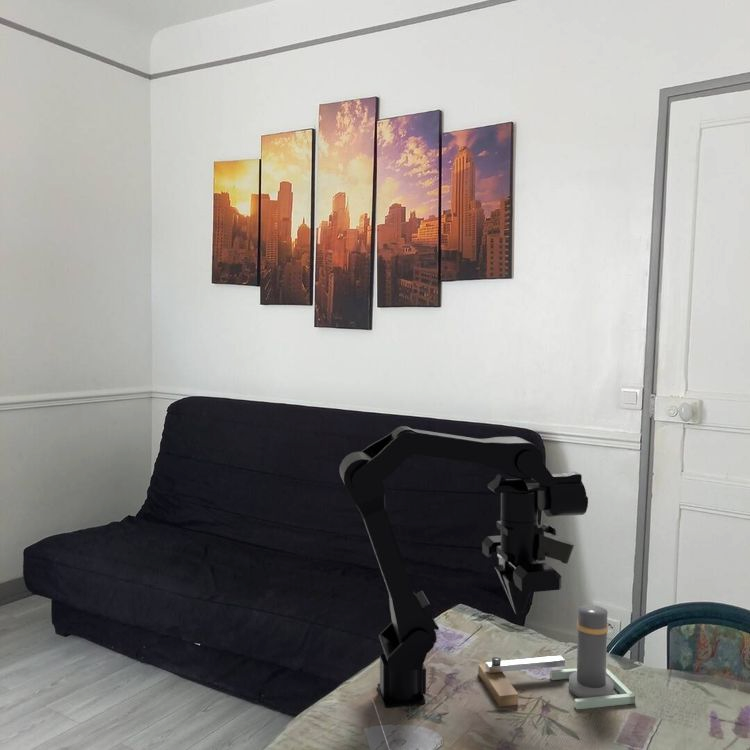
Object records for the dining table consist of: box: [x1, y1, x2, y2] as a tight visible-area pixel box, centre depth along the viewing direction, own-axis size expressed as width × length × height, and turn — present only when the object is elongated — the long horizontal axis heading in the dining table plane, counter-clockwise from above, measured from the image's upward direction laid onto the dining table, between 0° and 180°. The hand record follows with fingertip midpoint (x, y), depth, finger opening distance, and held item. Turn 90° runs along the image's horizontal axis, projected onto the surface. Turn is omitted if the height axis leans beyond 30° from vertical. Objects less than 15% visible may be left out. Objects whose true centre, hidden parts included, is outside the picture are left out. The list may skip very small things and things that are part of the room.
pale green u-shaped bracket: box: [549, 667, 636, 710], centre depth 112 cm, size 10×10×1 cm
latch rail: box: [477, 663, 519, 707], centre depth 112 cm, size 3×10×2 cm, turn 10°
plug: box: [568, 604, 615, 699], centre depth 111 cm, size 7×7×13 cm
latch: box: [485, 655, 566, 673], centre depth 115 cm, size 13×2×2 cm, turn 100°
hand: (518, 613), depth 112 cm, fingers closed
